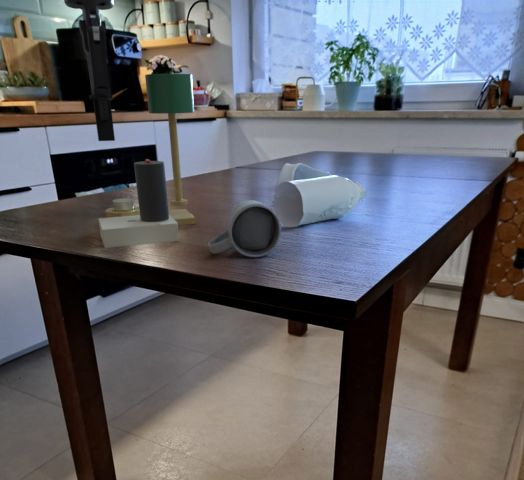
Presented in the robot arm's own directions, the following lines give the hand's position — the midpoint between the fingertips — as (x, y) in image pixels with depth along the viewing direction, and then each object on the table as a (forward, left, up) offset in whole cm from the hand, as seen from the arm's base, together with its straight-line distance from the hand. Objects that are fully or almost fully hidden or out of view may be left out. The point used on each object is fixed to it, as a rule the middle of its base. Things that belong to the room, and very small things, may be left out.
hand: (106, 140), depth 91 cm
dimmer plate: (+2, -12, -15) cm, 19 cm away
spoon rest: (+46, +21, -15) cm, 53 cm away
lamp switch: (+1, -1, -12) cm, 12 cm away
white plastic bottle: (+36, -11, -15) cm, 41 cm away
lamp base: (+6, 0, -15) cm, 16 cm away
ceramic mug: (+16, -27, -15) cm, 35 cm away
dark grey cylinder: (+5, -12, -12) cm, 18 cm away
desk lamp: (+12, 0, -12) cm, 17 cm away
